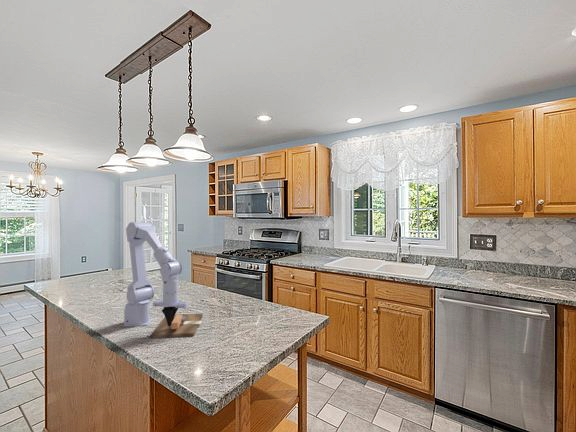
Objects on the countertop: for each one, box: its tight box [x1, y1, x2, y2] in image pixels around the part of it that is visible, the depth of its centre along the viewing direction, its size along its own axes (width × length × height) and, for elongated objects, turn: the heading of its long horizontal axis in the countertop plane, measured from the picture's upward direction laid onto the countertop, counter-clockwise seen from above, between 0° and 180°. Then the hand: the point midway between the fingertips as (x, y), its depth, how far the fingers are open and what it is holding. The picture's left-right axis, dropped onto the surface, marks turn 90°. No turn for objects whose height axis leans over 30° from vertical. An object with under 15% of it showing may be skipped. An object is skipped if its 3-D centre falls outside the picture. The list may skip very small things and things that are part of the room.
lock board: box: [150, 313, 203, 339], centre depth 120 cm, size 17×22×2 cm
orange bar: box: [171, 314, 186, 329], centre depth 117 cm, size 12×5×2 cm, turn 10°
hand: (170, 325), depth 113 cm, fingers closed
